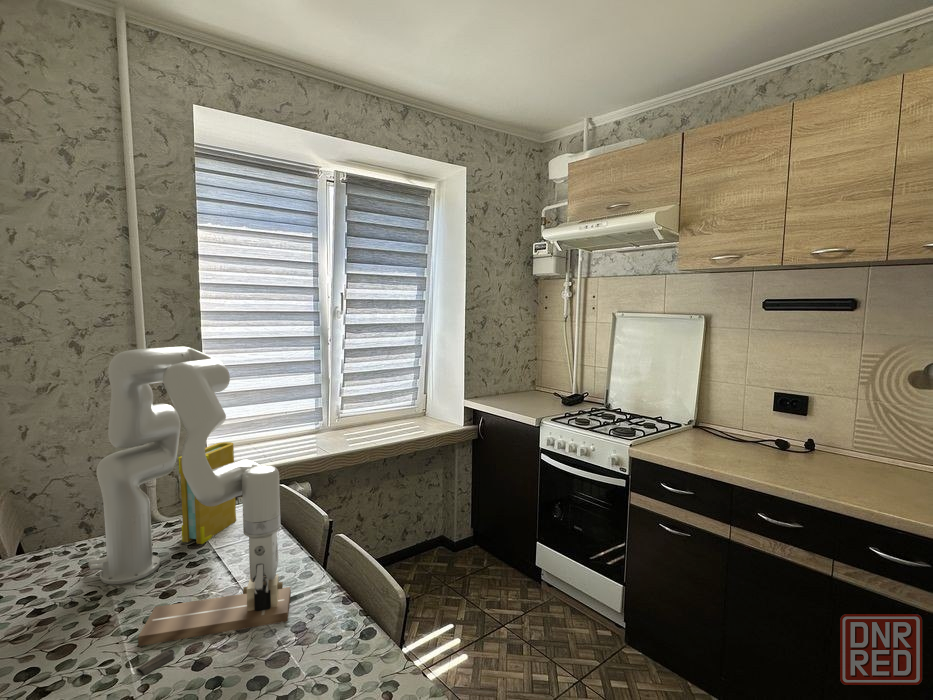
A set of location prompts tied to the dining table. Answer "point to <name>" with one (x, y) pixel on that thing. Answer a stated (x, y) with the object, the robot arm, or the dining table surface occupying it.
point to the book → (199, 517)
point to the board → (209, 617)
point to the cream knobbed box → (273, 587)
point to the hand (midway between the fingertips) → (264, 601)
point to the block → (156, 662)
